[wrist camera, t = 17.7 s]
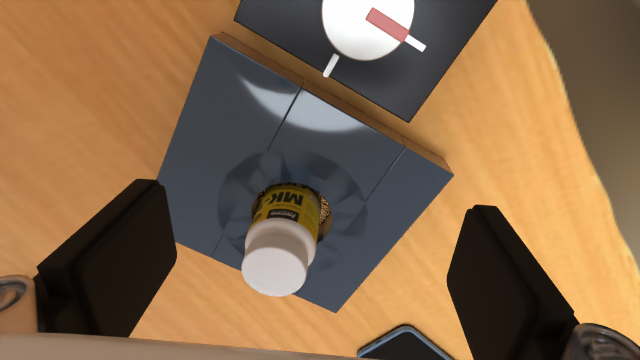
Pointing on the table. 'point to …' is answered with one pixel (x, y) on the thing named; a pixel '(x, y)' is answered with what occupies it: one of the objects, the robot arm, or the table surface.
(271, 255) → the supplement bottle
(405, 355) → the smartphone
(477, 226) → the robot arm
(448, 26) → the black dial plate
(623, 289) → the table surface
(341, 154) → the blue-grey patterned panel
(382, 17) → the rotary control knob
